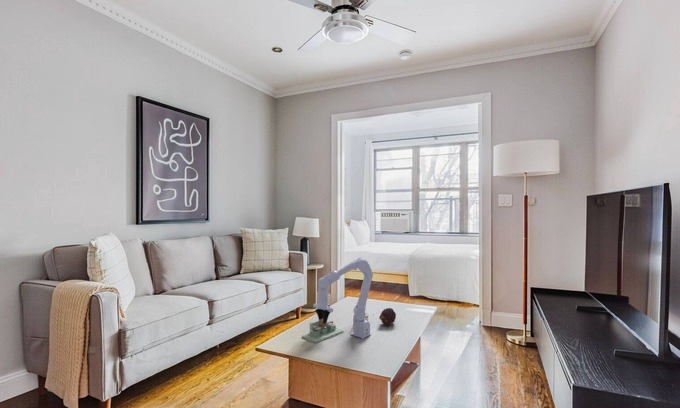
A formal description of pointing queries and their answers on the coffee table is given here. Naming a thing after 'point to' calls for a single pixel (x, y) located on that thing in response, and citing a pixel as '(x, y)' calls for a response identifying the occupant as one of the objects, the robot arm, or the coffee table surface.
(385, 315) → the pine cone
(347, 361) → the coffee table surface
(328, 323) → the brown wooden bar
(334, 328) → the mint green baseplate
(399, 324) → the coffee table surface
